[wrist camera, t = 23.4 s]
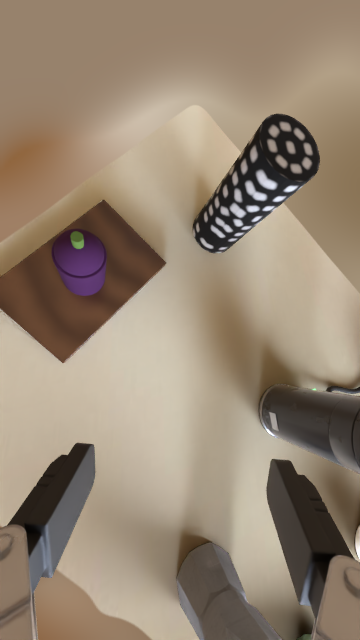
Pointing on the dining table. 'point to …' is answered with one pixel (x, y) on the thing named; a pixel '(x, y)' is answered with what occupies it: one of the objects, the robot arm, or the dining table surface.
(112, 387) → the dining table surface
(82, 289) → the eggplant
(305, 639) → the vegetable
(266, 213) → the spotted tube
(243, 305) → the dining table surface
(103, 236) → the cutting board
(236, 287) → the dining table surface
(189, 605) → the coffeepot
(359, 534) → the candle holder
